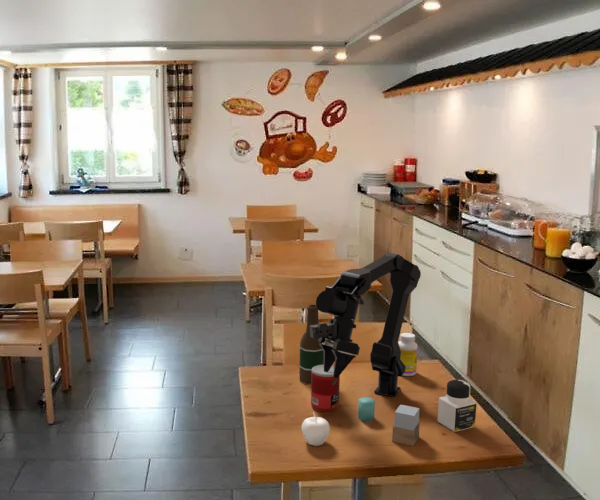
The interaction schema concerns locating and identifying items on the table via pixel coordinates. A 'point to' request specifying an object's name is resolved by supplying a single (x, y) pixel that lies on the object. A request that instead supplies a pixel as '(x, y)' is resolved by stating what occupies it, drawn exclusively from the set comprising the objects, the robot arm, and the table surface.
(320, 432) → the plain white apple
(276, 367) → the table surface
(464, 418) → the medicine bottle
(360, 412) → the teal cylinder
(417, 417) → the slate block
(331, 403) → the canned food
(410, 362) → the supplement bottle
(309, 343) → the beer bottle
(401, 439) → the walnut block
